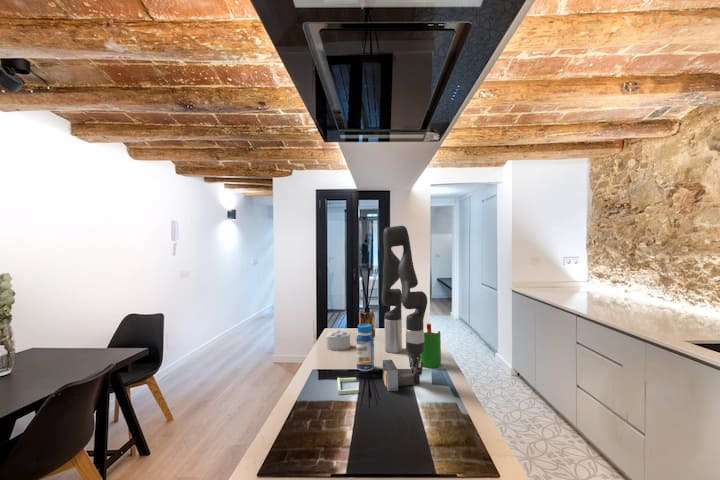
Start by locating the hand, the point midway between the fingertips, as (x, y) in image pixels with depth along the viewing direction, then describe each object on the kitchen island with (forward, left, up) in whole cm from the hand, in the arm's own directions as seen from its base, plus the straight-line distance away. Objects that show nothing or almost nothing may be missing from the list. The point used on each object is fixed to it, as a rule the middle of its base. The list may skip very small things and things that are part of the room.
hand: (415, 381), depth 135 cm
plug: (0, -6, -1) cm, 6 cm away
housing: (0, -11, -1) cm, 11 cm away
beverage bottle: (-19, -19, -1) cm, 27 cm away
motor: (-19, +12, -1) cm, 23 cm away
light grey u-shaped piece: (0, -28, -1) cm, 28 cm away
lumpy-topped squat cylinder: (-52, -30, -1) cm, 60 cm away
